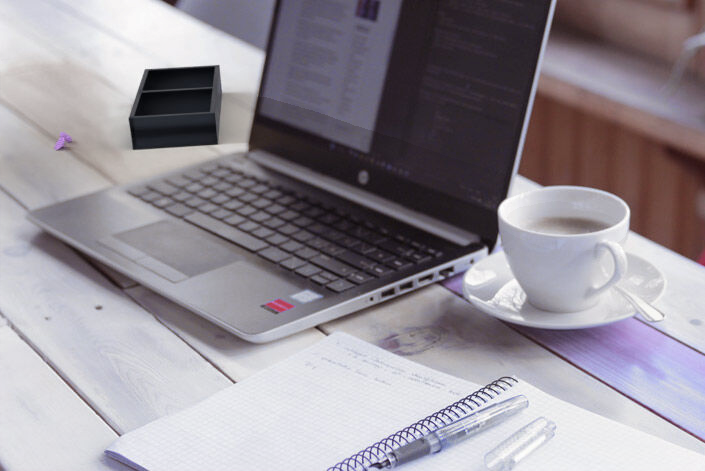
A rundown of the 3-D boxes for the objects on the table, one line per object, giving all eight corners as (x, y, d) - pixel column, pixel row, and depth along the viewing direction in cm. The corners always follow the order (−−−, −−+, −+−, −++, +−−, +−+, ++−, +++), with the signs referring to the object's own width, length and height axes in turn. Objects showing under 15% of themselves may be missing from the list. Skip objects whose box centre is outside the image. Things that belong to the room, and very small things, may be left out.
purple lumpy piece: (64, 159, 116) (74, 151, 116) (53, 152, 115) (63, 144, 115) (66, 142, 118) (76, 134, 118) (56, 135, 117) (66, 127, 117)
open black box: (133, 149, 115) (128, 118, 113) (148, 96, 132) (144, 69, 130) (217, 144, 115) (214, 113, 114) (222, 92, 133) (219, 64, 131)
